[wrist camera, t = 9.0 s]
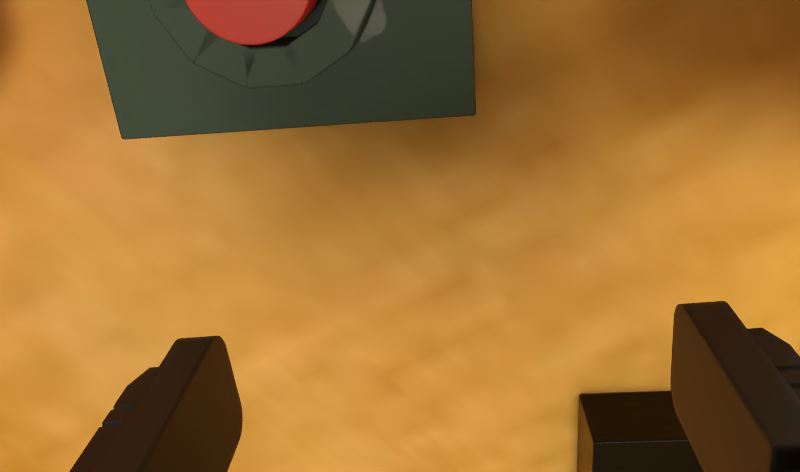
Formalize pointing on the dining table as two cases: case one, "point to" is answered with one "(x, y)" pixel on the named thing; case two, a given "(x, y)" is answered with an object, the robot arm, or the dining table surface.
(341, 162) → the dining table surface
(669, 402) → the panel
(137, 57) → the dark grey base plate
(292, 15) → the button
